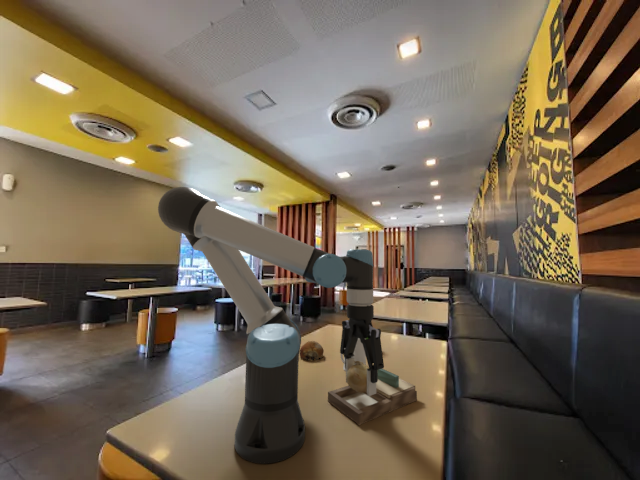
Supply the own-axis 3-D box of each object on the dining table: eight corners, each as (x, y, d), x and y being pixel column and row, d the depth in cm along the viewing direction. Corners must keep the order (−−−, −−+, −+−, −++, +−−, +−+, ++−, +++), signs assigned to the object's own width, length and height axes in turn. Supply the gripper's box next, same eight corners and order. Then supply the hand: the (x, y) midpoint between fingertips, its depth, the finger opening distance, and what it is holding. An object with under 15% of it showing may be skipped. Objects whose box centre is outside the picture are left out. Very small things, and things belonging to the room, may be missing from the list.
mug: (347, 378, 90) (348, 342, 91) (331, 370, 97) (332, 336, 98) (371, 370, 97) (371, 336, 98) (354, 363, 104) (354, 331, 105)
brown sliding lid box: (358, 424, 64) (358, 409, 64) (327, 401, 75) (328, 388, 75) (416, 400, 76) (416, 387, 76) (382, 383, 87) (382, 371, 87)
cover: (389, 398, 71) (389, 383, 72) (361, 382, 80) (361, 369, 81) (415, 388, 77) (415, 374, 78) (386, 375, 86) (386, 362, 87)
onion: (378, 386, 74) (378, 360, 75) (369, 399, 68) (369, 370, 68) (352, 380, 78) (352, 355, 79) (341, 391, 71) (341, 364, 72)
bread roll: (325, 365, 110) (329, 345, 114) (313, 361, 103) (318, 340, 107) (306, 360, 116) (310, 341, 119) (293, 356, 108) (298, 336, 112)
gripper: (398, 308, 68) (399, 400, 66) (347, 298, 86) (347, 371, 84) (377, 310, 64) (378, 409, 62) (328, 300, 82) (327, 377, 80)
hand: (360, 387), depth 73 cm, fingers closed on onion, 8 cm apart
